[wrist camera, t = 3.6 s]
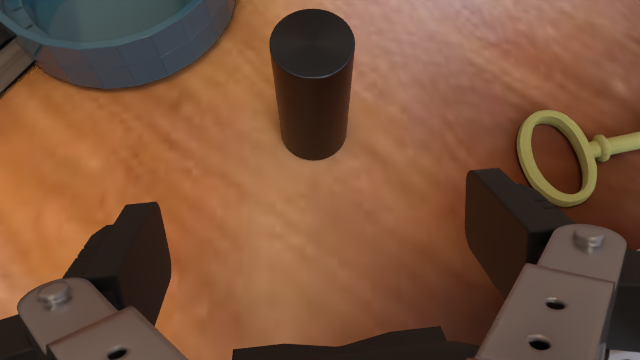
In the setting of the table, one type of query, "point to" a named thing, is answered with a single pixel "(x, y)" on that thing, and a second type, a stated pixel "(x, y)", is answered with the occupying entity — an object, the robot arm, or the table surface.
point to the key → (583, 148)
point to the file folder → (11, 61)
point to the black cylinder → (312, 81)
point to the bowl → (114, 37)
